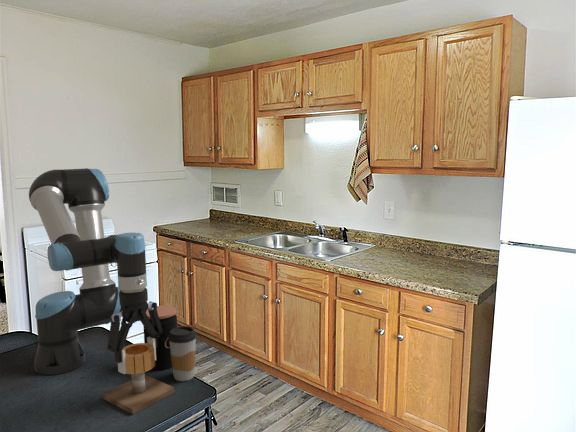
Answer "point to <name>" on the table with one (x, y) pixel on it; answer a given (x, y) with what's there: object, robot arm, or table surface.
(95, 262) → the robot arm
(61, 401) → the table surface
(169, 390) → the post block
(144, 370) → the orange ring
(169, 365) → the coffee jar
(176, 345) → the coffee cup
